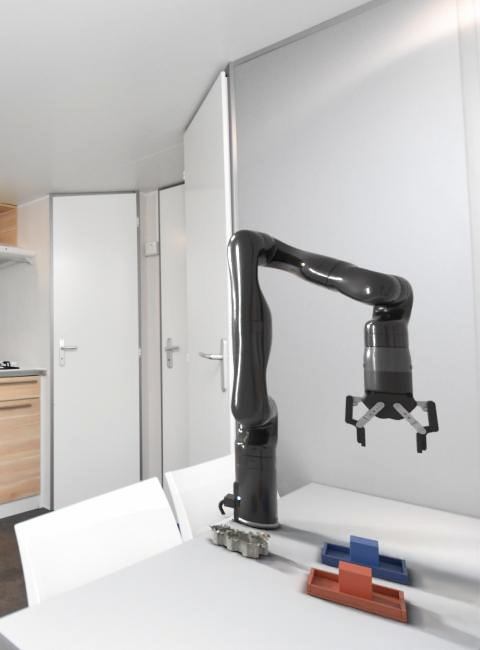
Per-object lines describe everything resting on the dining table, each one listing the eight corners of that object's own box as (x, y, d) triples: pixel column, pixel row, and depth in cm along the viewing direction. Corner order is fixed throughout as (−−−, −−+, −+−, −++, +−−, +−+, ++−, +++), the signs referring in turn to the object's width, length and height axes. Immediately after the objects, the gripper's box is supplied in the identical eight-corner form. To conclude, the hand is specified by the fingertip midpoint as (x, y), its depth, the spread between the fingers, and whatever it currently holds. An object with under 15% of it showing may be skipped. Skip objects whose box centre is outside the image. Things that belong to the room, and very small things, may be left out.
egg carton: (273, 555, 101) (273, 535, 102) (250, 560, 98) (250, 540, 98) (228, 536, 111) (228, 518, 111) (205, 540, 108) (205, 522, 108)
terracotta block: (339, 595, 84) (338, 568, 84) (340, 585, 87) (339, 560, 88) (372, 604, 81) (371, 577, 81) (372, 594, 84) (371, 568, 85)
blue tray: (321, 563, 98) (321, 554, 98) (324, 549, 105) (324, 541, 105) (408, 585, 89) (408, 575, 90) (405, 568, 96) (405, 560, 97)
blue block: (350, 563, 97) (349, 540, 97) (350, 556, 100) (350, 534, 101) (379, 570, 94) (378, 547, 94) (379, 563, 97) (378, 540, 98)
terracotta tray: (306, 593, 85) (306, 583, 85) (311, 576, 92) (311, 566, 92) (406, 623, 76) (406, 612, 77) (403, 601, 83) (403, 590, 84)
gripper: (433, 371, 96) (437, 452, 95) (344, 367, 105) (346, 441, 104) (437, 371, 91) (441, 458, 89) (342, 368, 100) (345, 446, 98)
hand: (390, 449), depth 97 cm, fingers open, 8 cm apart
